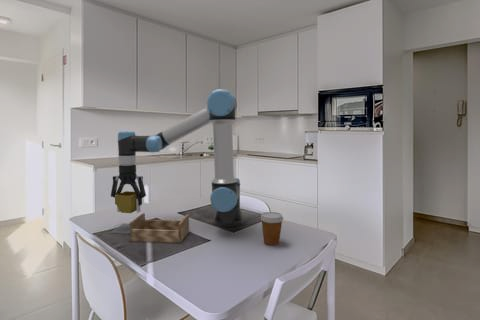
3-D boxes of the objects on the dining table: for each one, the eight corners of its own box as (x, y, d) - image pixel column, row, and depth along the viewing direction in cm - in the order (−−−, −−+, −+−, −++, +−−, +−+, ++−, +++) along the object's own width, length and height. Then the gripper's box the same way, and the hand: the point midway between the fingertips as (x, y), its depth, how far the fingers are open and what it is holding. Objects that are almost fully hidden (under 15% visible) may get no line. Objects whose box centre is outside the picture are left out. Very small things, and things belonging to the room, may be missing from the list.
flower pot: (132, 215, 134) (131, 195, 133) (115, 214, 136) (114, 195, 135) (142, 210, 142) (141, 191, 141) (126, 209, 144) (125, 191, 143)
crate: (189, 231, 137) (188, 214, 136) (180, 242, 123) (180, 224, 122) (143, 229, 138) (142, 213, 138) (130, 241, 124) (129, 222, 124)
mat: (148, 224, 146) (148, 223, 146) (137, 234, 133) (137, 233, 133) (123, 224, 147) (123, 223, 147) (109, 233, 134) (109, 232, 134)
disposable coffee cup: (277, 248, 117) (277, 219, 115) (256, 243, 122) (256, 215, 120) (286, 241, 125) (286, 213, 123) (266, 236, 130) (266, 210, 128)
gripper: (152, 163, 140) (153, 210, 142) (109, 163, 141) (111, 208, 143) (146, 165, 132) (147, 214, 134) (100, 165, 134) (102, 213, 136)
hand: (128, 211), depth 139 cm, fingers closed on flower pot, 9 cm apart
